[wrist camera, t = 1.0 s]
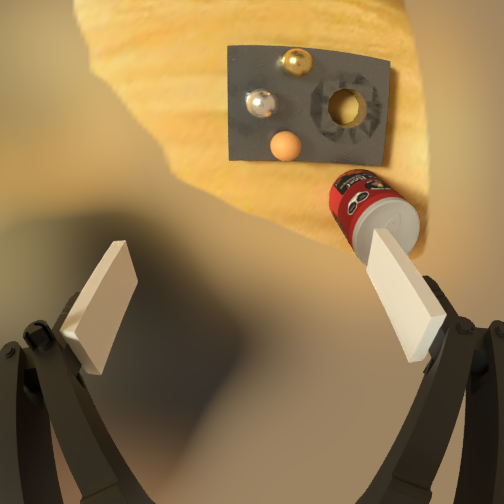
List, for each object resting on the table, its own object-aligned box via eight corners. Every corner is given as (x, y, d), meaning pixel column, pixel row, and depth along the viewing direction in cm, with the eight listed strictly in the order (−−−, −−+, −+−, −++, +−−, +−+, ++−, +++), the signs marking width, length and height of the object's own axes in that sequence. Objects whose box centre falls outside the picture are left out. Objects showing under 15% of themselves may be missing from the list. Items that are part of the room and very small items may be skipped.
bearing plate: (228, 48, 27) (227, 45, 25) (381, 62, 28) (390, 61, 26) (229, 155, 34) (228, 160, 32) (373, 160, 35) (381, 166, 32)
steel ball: (245, 88, 28) (246, 88, 25) (276, 88, 28) (280, 88, 25) (246, 117, 30) (246, 120, 27) (276, 117, 30) (279, 120, 27)
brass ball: (279, 49, 26) (283, 45, 23) (310, 51, 26) (317, 48, 23) (279, 77, 27) (283, 76, 25) (309, 79, 27) (316, 78, 25)
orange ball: (269, 128, 30) (272, 133, 28) (299, 129, 30) (304, 134, 28) (268, 156, 32) (271, 164, 29) (297, 157, 32) (302, 164, 29)
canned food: (384, 168, 35) (427, 200, 26) (376, 223, 39) (411, 267, 30) (329, 166, 35) (359, 198, 26) (325, 224, 39) (349, 271, 30)
